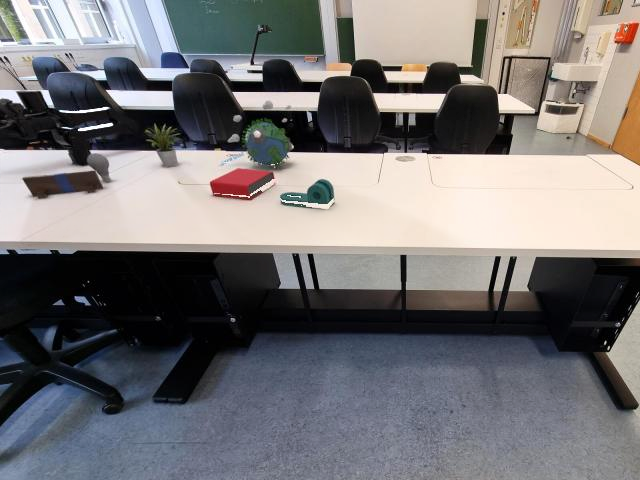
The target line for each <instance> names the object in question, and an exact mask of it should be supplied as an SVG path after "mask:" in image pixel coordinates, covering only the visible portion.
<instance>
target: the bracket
mask: <svg viewBox="0 0 640 480" xmlns="http://www.w3.org/2000/svg"><path fill="white" fill-rule="evenodd" d="M287 195H291V196H301V198H299V197H290V196H287ZM280 198H281V199H282V200H286V201H298V202H308V203H318V204H328V203H329V202H330V201H331V200H332V199H333V198H334V199H335V191H334V186H333V184H332V183H331V182H330V181H329V180H328V179H325V178H320V179H318V180H316V181H314V183H313V184H311V185H310V186H309V187H308V188H307V190H306V193H305V192H296V191H288V192H287V191H286V192H283V193H281V194H279V199H280ZM280 204H281V205H283V206H289V207H297V208H305V209H313V208H312V207H309V208H308V207H306V205H303V204H294V203H285V202H282V201H281V200H280ZM301 205H302V206H301Z"/></svg>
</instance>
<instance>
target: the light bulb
mask: <svg viewBox="0 0 640 480" xmlns="http://www.w3.org/2000/svg"><path fill="white" fill-rule="evenodd" d="M87 163H88V164H89V165H88V166H89V167H90V168H91V169H92V170H93V171H96V173H97V175H98V176H100V178H101V181H102V182H105V183H109V182H111V181H112V179H111V177H110V171H109V168H110V161H109V160H108V158H107V157H106V156H105V155H103V154H101V153H98V152H93V153H91V154H90V155H89V156H88V158H87Z"/></svg>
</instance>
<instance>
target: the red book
mask: <svg viewBox="0 0 640 480" xmlns="http://www.w3.org/2000/svg"><path fill="white" fill-rule="evenodd" d="M275 178H276V177H275V173H274V171H269V170H260V169H251V168H241V167H238V168H235V169H233V170H231V171H229V172H227V173H225V174H223V175H221V176H218V177H216V178H215V179H212V180H209V186H210V190H211V193H212V195H213V196H216V197H222V198H223V197H225V198H233V199H241V200H249V201H250V200H251V201H252V200H254V199H255V198H256V197H258V196H260V195H261V194H263V193H264V192H262V191H261V190H260V191H258V192H257V193H255V194H253V195H252V196H250V194H251V193H253V192H254V191H256V190H257V189H259V188H260V187H262V186H263V185H265V184H266V183H268V182H270V181H271V180H272V179H275ZM275 180H276V179H275ZM214 193H220V194H214ZM222 194H233V195H246V196H250V198H248V197H239V196H231V195H222Z"/></svg>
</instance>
